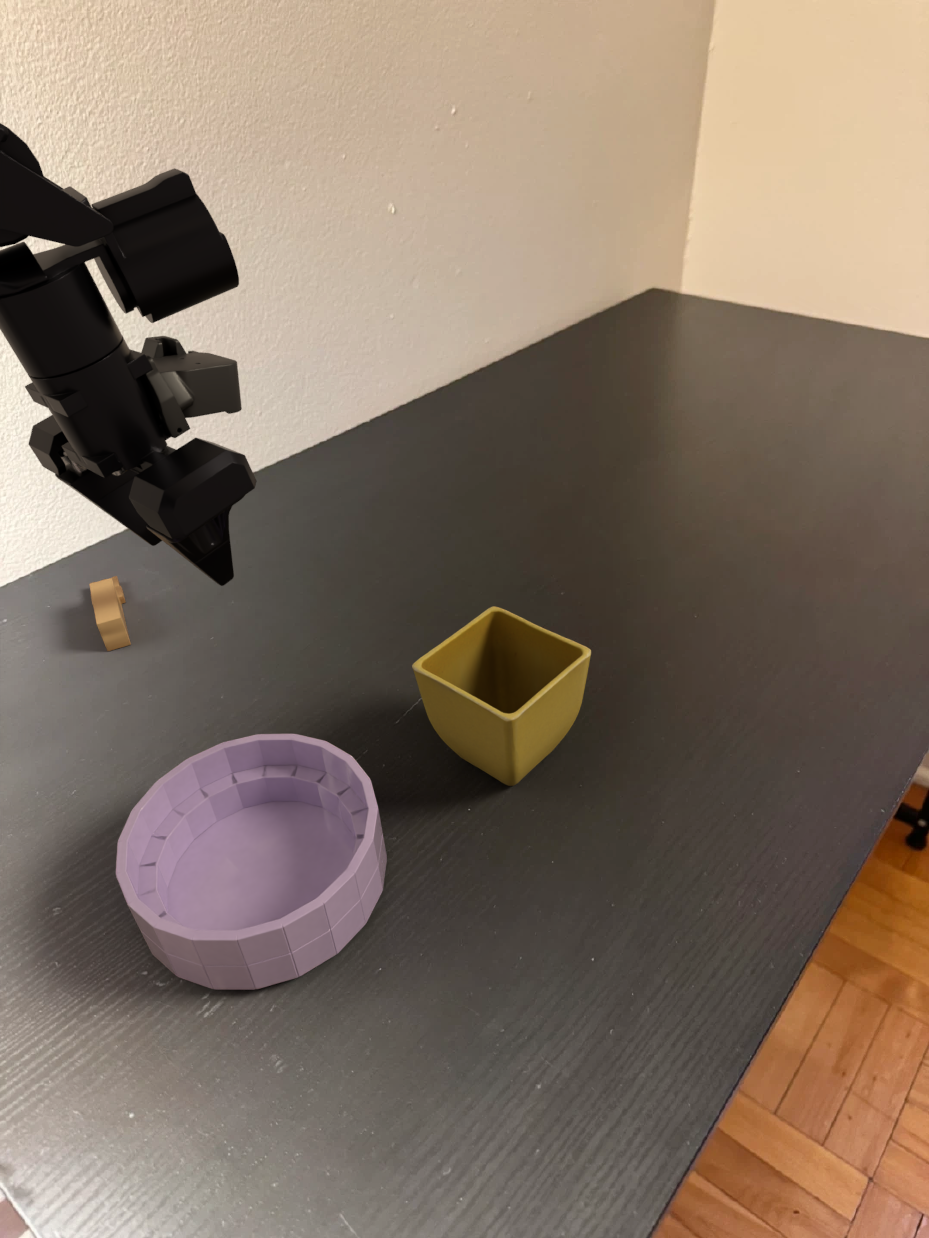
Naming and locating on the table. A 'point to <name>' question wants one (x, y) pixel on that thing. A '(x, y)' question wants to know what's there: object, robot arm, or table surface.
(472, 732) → the flower pot
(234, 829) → the bowl
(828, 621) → the table surface
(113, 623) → the fork
